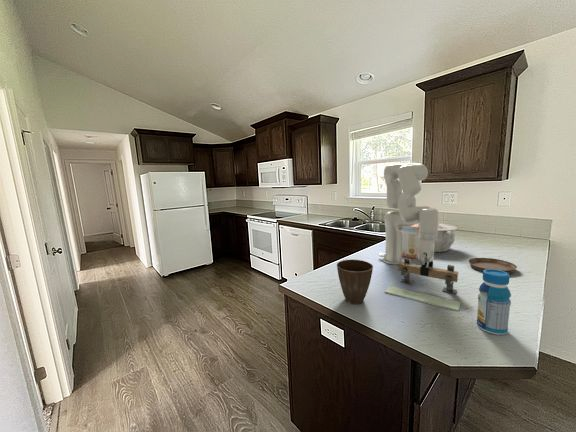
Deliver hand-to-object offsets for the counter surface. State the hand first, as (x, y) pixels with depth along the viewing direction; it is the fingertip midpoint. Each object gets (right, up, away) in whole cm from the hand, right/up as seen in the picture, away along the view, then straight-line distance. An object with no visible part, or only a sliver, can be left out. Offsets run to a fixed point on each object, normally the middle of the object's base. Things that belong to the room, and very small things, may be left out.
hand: (426, 272), depth 113 cm
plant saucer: (+49, -4, +23) cm, 54 cm away
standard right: (+8, -9, -3) cm, 12 cm away
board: (-6, -10, -6) cm, 13 cm away
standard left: (-6, -8, +8) cm, 13 cm away
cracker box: (+16, -1, +50) cm, 53 cm away
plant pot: (-35, -11, -6) cm, 37 cm away
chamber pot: (+39, +2, +61) cm, 73 cm away
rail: (0, -1, +1) cm, 1 cm away
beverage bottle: (+6, -13, -29) cm, 32 cm away
